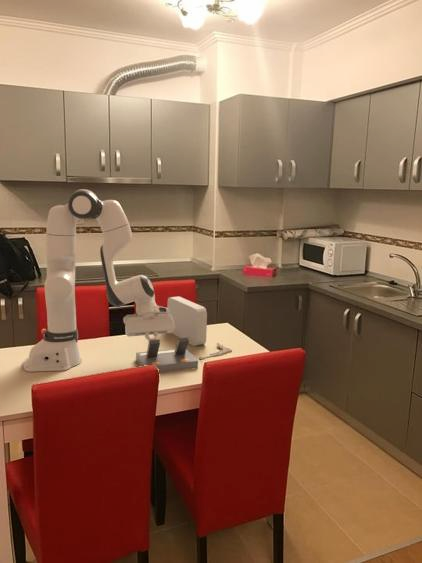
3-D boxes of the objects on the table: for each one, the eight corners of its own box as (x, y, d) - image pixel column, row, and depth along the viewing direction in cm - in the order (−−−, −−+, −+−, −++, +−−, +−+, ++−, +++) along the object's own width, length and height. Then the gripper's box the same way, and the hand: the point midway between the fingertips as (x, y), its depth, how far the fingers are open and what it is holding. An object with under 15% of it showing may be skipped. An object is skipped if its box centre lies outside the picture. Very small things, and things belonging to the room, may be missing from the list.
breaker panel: (144, 374, 180) (144, 366, 180) (136, 359, 195) (136, 352, 194) (197, 368, 188) (197, 360, 187) (185, 354, 203) (186, 347, 202)
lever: (174, 355, 193) (178, 342, 186) (173, 352, 194) (177, 338, 187) (185, 354, 194) (189, 341, 188) (184, 351, 196) (188, 337, 189)
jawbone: (235, 350, 212) (235, 346, 212) (217, 366, 194) (217, 361, 194) (217, 346, 216) (217, 341, 215) (198, 360, 197) (198, 356, 197)
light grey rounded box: (210, 344, 216) (211, 307, 213) (196, 347, 212) (197, 309, 209) (180, 328, 240) (180, 294, 236) (167, 330, 235) (167, 296, 232)
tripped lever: (146, 358, 189) (149, 343, 182) (145, 355, 190) (148, 340, 183) (157, 357, 190) (160, 342, 184) (156, 354, 191) (159, 339, 185)
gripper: (123, 311, 187) (128, 342, 180) (172, 308, 194) (178, 337, 187) (121, 318, 192) (126, 349, 185) (169, 315, 199) (175, 344, 192)
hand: (153, 343), depth 186 cm, fingers closed
